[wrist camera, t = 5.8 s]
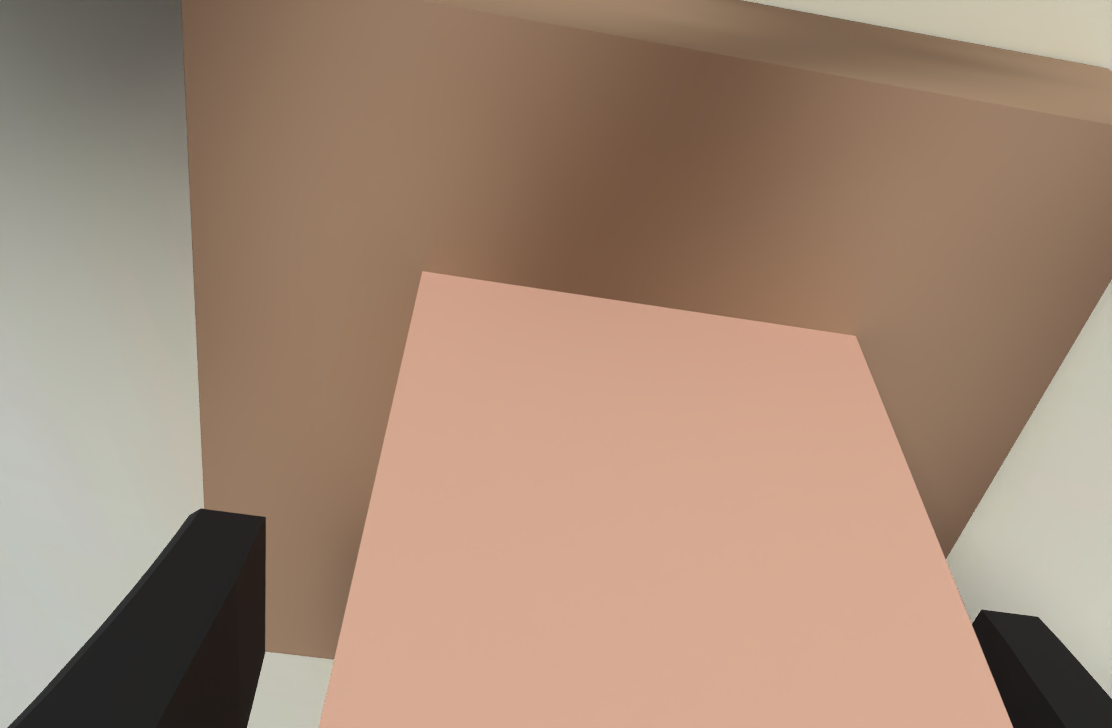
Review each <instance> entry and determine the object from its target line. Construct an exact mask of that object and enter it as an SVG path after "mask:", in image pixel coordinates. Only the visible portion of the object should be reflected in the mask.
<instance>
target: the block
mask: <svg viewBox="0 0 1112 728" xmlns="http://www.w3.org/2000/svg"><path fill="white" fill-rule="evenodd" d="M319 728H1013V726H1012V723H1011V721H1010V718H1009V716H1008V713H1007V711H1006V708H1005V706H1004V704H1003V701H1002V699H1001V696H1000V694H999V691H998V689H997V686H996V684H995V681H994V679H993V676H992V674H991V671H990V669H989V666H988V664H987V661H986V659H985V656H984V654H983V651H982V649H981V646H980V644H979V641H978V639H977V636H976V634H975V631H974V629H973V626H972V624H971V621H970V619H969V616H968V614H967V611H966V609H965V606H964V604H963V601H962V599H961V597H960V594H959V592H958V589H957V587H956V584H955V582H954V579H953V577H952V574H951V572H950V569H949V567H948V564H947V562H946V559H945V557H944V554H943V552H942V549H941V547H940V544H939V542H938V539H937V537H936V534H935V532H934V529H933V527H932V524H931V522H930V519H929V517H928V514H927V512H926V509H925V507H924V504H923V502H922V499H921V497H920V495H919V492H918V490H917V487H916V485H915V482H914V480H913V477H912V475H911V472H910V470H909V467H908V465H907V462H906V460H905V457H904V455H903V452H902V450H901V447H900V445H899V442H898V440H897V437H896V435H895V432H894V430H893V427H892V425H891V422H890V420H889V417H888V415H887V412H886V410H885V407H884V405H883V402H882V400H881V397H880V395H879V392H878V390H877V388H876V385H875V383H874V380H873V378H872V375H871V373H870V370H869V368H868V365H867V363H866V360H865V358H864V355H863V353H862V350H861V348H860V345H859V343H858V340H857V338H856V336H853V335H846V334H840V333H833V332H826V331H819V330H813V329H806V328H799V327H793V326H786V325H779V324H773V323H766V322H759V321H752V320H746V319H739V318H732V317H726V316H719V315H712V314H705V313H699V312H692V311H685V310H679V309H672V308H665V307H659V306H652V305H645V304H638V303H632V302H625V301H618V300H612V299H605V298H598V297H592V296H585V295H578V294H571V293H565V292H558V291H551V290H545V289H538V288H531V287H525V286H518V285H511V284H504V283H498V282H491V281H484V280H478V279H471V278H464V277H458V276H451V275H444V274H437V273H431V272H424V271H422V275H421V279H420V284H419V288H418V292H417V297H416V301H415V306H414V310H413V314H412V319H411V323H410V328H409V332H408V336H407V341H406V345H405V350H404V354H403V358H402V363H401V367H400V372H399V376H398V380H397V385H396V389H395V394H394V398H393V402H392V407H391V411H390V416H389V420H388V425H387V429H386V433H385V438H384V442H383V447H382V451H381V455H380V460H379V464H378V469H377V473H376V477H375V482H374V486H373V491H372V495H371V499H370V504H369V508H368V513H367V517H366V521H365V526H364V530H363V535H362V539H361V544H360V548H359V552H358V557H357V561H356V566H355V570H354V574H353V579H352V583H351V588H350V592H349V596H348V601H347V605H346V610H345V614H344V618H343V623H342V627H341V632H340V636H339V640H338V645H337V649H336V654H335V658H334V662H333V667H332V671H331V676H330V680H329V685H328V689H327V693H326V698H325V702H324V707H323V711H322V715H321V720H320V724H319Z"/></svg>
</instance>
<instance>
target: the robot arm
mask: <svg viewBox="0 0 1112 728" xmlns="http://www.w3.org/2000/svg"><path fill="white" fill-rule="evenodd" d="M265 596H266V517H262V516H255V515H247V514H239V513H232V512H224V511H216V510H208V509H199V510H198V511H196V512H194V513H193V514H191V515H189V517H188V518H187V519H186V521H185V522H184V523H183V525H182V526H181V527H180V529H179V530H178V531H177V533H176V534H175V536H174V537H173V538H172V540H171V541H170V542H169V543H168V545H167V546H166V547H165V549H164V550H163V551H162V552H161V554H160V555H159V556H158V558H157V559H156V560H155V561H154V563H153V564H152V565H151V566H150V568H149V569H148V570H147V572H146V573H145V574H144V575H143V576H142V578H141V579H140V580H139V581H138V583H137V584H136V585H135V586H134V587H133V589H132V590H131V591H130V592H129V593H128V595H127V596H126V597H125V598H124V599H123V601H122V602H121V603H120V604H119V605H118V607H117V608H116V609H115V610H114V611H113V612H112V614H111V615H110V616H109V617H108V618H107V620H106V621H105V622H104V623H103V624H102V625H101V627H100V628H99V629H98V630H97V631H96V632H95V633H94V634H93V636H92V637H91V638H90V639H89V640H88V641H87V642H86V643H85V644H84V646H83V647H82V648H81V649H80V650H79V651H78V652H77V653H76V654H75V656H74V657H73V658H72V659H71V660H70V661H69V662H68V663H67V664H66V666H65V667H64V668H63V669H62V670H61V671H60V672H59V673H58V674H57V676H56V677H55V678H54V679H53V680H52V681H51V682H50V683H49V684H48V686H47V687H46V688H45V689H44V690H43V691H42V692H41V693H40V694H39V695H38V696H37V698H36V699H35V700H34V701H33V702H32V703H31V704H30V705H29V706H28V707H27V708H26V709H25V710H24V711H23V712H22V713H21V714H20V715H19V716H18V717H17V719H16V720H15V721H14V722H13V723H12V724H11V725H10V726H9V727H8V728H247V724H248V721H249V717H250V713H251V709H252V705H253V700H254V696H255V692H256V688H257V684H258V680H259V676H260V671H261V667H262V663H263V659H264V655H265ZM972 626H973V629H974V631H975V634H976V636H977V639H978V641H979V644H980V646H981V649H982V651H983V654H984V656H985V659H986V661H987V664H988V666H989V669H990V671H991V674H992V676H993V679H994V681H995V684H996V686H997V689H998V691H999V694H1000V696H1001V699H1002V701H1003V704H1004V706H1005V708H1006V711H1007V713H1008V716H1009V718H1010V721H1011V723H1012V726H1013V728H1112V699H1111V698H1110V697H1109V695H1108V694H1107V693H1106V692H1105V691H1104V690H1103V689H1102V687H1101V686H1100V685H1099V684H1098V683H1097V682H1096V681H1095V679H1094V678H1093V677H1092V676H1091V675H1090V674H1089V673H1088V671H1087V670H1086V669H1085V668H1084V667H1083V666H1082V665H1081V663H1080V662H1079V661H1078V660H1077V659H1076V658H1075V657H1074V656H1073V654H1072V653H1071V652H1070V651H1069V650H1068V649H1067V648H1066V647H1065V646H1064V644H1063V643H1062V642H1061V641H1060V640H1059V639H1058V638H1057V637H1056V636H1055V635H1054V633H1053V632H1052V631H1051V630H1050V629H1049V628H1048V627H1047V626H1046V625H1045V624H1044V623H1043V622H1042V621H1041V620H1040V619H1039V618H1038V617H1034V616H1027V615H1019V614H1011V613H1003V612H996V611H988V610H981V611H980V613H979V614H978V616H977V617H976V619H975V621H974V622H973V624H972Z"/></svg>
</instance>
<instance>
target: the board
mask: <svg viewBox="0 0 1112 728" xmlns="http://www.w3.org/2000/svg"><path fill="white" fill-rule="evenodd" d="M181 11H182V33H183V54H184V76H185V98H186V120H187V141H188V163H189V185H190V207H191V228H192V250H193V272H194V294H195V316H196V337H197V359H198V381H199V403H200V424H201V446H202V468H203V490H204V509H208V510H216V511H224V512H232V513H239V514H247V515H255V516H262V517H266V596H265V651H266V652H275V653H283V654H292V655H300V656H309V657H317V658H326V659H334V658H335V654H336V649H337V645H338V640H339V636H340V632H341V627H342V623H343V618H344V614H345V610H346V605H347V601H348V596H349V592H350V588H351V583H352V579H353V574H354V570H355V566H356V561H357V557H358V552H359V548H360V544H361V539H362V535H363V530H364V526H365V521H366V517H367V513H368V508H369V504H370V499H371V495H372V491H373V486H374V482H375V477H376V473H377V469H378V464H379V460H380V455H381V451H382V447H383V442H384V438H385V433H386V429H387V425H388V420H389V416H390V411H391V407H392V402H393V398H394V394H395V389H396V385H397V380H398V376H399V372H400V367H401V363H402V358H403V354H404V350H405V345H406V341H407V336H408V332H409V328H410V323H411V319H412V314H413V310H414V306H415V301H416V297H417V292H418V288H419V284H420V279H421V275H422V271H424V272H431V273H437V274H444V275H451V276H458V277H464V278H471V279H478V280H484V281H491V282H498V283H504V284H511V285H518V286H525V287H531V288H538V289H545V290H551V291H558V292H565V293H571V294H578V295H585V296H592V297H598V298H605V299H612V300H618V301H625V302H632V303H638V304H645V305H652V306H659V307H665V308H672V309H679V310H685V311H692V312H699V313H705V314H712V315H719V316H726V317H732V318H739V319H746V320H752V321H759V322H766V323H773V324H779V325H786V326H793V327H799V328H806V329H813V330H819V331H826V332H833V333H840V334H846V335H853V336H856V338H857V340H858V343H859V345H860V348H861V350H862V353H863V355H864V358H865V360H866V363H867V365H868V368H869V370H870V373H871V375H872V378H873V380H874V383H875V385H876V388H877V390H878V392H879V395H880V397H881V400H882V402H883V405H884V407H885V410H886V412H887V415H888V417H889V420H890V422H891V425H892V427H893V430H894V432H895V435H896V437H897V440H898V442H899V445H900V447H901V450H902V452H903V455H904V457H905V460H906V462H907V465H908V467H909V470H910V472H911V475H912V477H913V480H914V482H915V485H916V487H917V490H918V492H919V495H920V497H921V499H922V502H923V504H924V507H925V509H926V512H927V514H928V517H929V519H930V522H931V524H932V527H933V529H934V532H935V534H936V537H937V539H938V542H939V544H940V547H941V549H942V552H943V554H944V557H945V559H946V558H947V556H948V555H949V553H950V551H951V549H952V548H953V546H954V544H955V543H956V541H957V539H958V538H959V536H960V534H961V533H962V531H963V529H964V528H965V526H966V524H967V522H968V521H969V519H970V517H971V516H972V514H973V512H974V511H975V509H976V507H977V506H978V504H979V502H980V501H981V499H982V497H983V495H984V494H985V492H986V490H987V489H988V487H989V485H990V484H991V482H992V480H993V479H994V477H995V475H996V473H997V472H998V470H999V468H1000V467H1001V465H1002V463H1003V462H1004V460H1005V458H1006V457H1007V455H1008V453H1009V452H1010V450H1011V448H1012V446H1013V445H1014V443H1015V441H1016V440H1017V438H1018V436H1019V435H1020V433H1021V431H1022V430H1023V428H1024V426H1025V425H1026V423H1027V421H1028V419H1029V418H1030V416H1031V414H1032V413H1033V411H1034V409H1035V408H1036V406H1037V404H1038V403H1039V401H1040V399H1041V397H1042V396H1043V394H1044V392H1045V391H1046V389H1047V387H1048V386H1049V384H1050V382H1051V381H1052V379H1053V377H1054V376H1055V374H1056V372H1057V370H1058V369H1059V367H1060V365H1061V364H1062V362H1063V360H1064V359H1065V357H1066V355H1067V354H1068V352H1069V350H1070V349H1071V347H1072V345H1073V343H1074V342H1075V340H1076V338H1077V337H1078V335H1079V333H1080V332H1081V330H1082V328H1083V327H1084V325H1085V323H1086V321H1087V320H1088V318H1089V316H1090V315H1091V313H1092V311H1093V310H1094V308H1095V306H1096V305H1097V303H1098V301H1099V300H1100V298H1101V296H1102V294H1103V293H1104V291H1105V289H1106V288H1107V286H1108V284H1109V283H1110V281H1111V279H1112V71H1110V70H1109V69H1107V68H1102V67H1097V66H1091V65H1086V64H1081V63H1075V62H1070V61H1064V60H1059V59H1054V58H1048V57H1043V56H1038V55H1032V54H1027V53H1021V52H1016V51H1011V50H1005V49H1000V48H994V47H989V46H984V45H978V44H973V43H968V42H962V41H957V40H951V39H946V38H941V37H935V36H930V35H924V34H919V33H914V32H908V31H903V30H898V29H892V28H887V27H881V26H876V25H871V24H865V23H860V22H854V21H849V20H844V19H838V18H833V17H828V16H822V15H817V14H811V13H806V12H801V11H795V10H790V9H784V8H779V7H774V6H768V5H763V4H758V3H752V2H747V1H741V0H181Z"/></svg>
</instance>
